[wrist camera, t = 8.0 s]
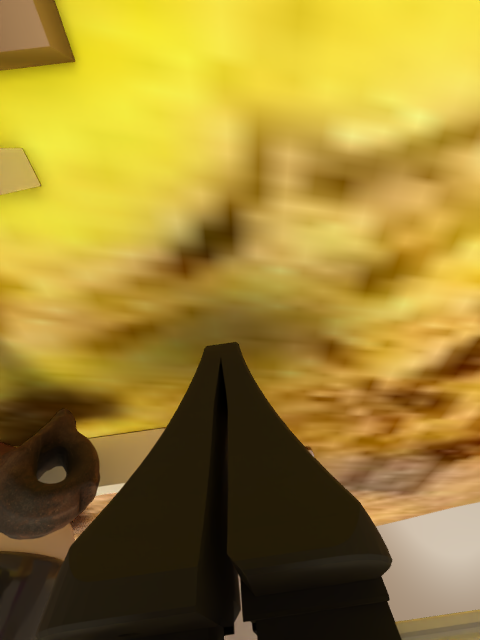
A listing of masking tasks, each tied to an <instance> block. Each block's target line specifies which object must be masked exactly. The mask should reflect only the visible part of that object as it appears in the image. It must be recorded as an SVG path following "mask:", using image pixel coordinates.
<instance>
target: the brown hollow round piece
mask: <svg viewBox="0 0 480 640" xmlns="http://www.w3.org/2000/svg"><path fill="white" fill-rule="evenodd" d="M57 466H62V467H63V468H64V469H65V471H66V477H65V479H64V480H63V481H61V482H58V483H52V484H48V483H43V482H40V481H39V480H38V479H39V478H40V477H41V476H42V475H43V474H44V473H45V472H46V471H49V470H51V469H53V468H54V467H57ZM99 470H100V465H99V457H98V453H97V451H96V449H95V447H94V446H93V444H92V443H91V441H90V440H89V439H88V438H86V437H85V436H83V435H82V434H81V433H79V432H78V431H77V429H76V421H75V419H74V416H73V415H72V413H71V412H70V411H69V410H68V409H61V410H59V411H58V412H57V413H56V414H55V416H54V417H53V418H52V419H51V420H50V422H49V423H48V424H46V425H45V426H44V427H43V428H42V429H40V430H39V431H38V432H37V433H36V434H35V435H34V436H32V437H31V438H30V439H28V440H27V441H26V442H24V443H23V444H22V445H21V446H19V447H14V446H9V445H6V444H4V443H1V442H0V533H3V534H4V535H6V536H8V537H9V538H12V539H18V540H24V539H37V538H41V537H43V536H46V535H48V534H51V533H53V532H55V531H57V530H60V529H62V528H64V527H65V526H66V525H68V524H69V523H70V522H71V521H73V520H74V519H75V518H76V517H77V516H78V515H79V514H80V513H81V512H82V511H84V510H85V508H86V507H87V506H88V504H89V503H90V502H92V501H93V499H94V497H95V495H96V493H97V489H98V486H99V482H100V473H99Z"/></svg>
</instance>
